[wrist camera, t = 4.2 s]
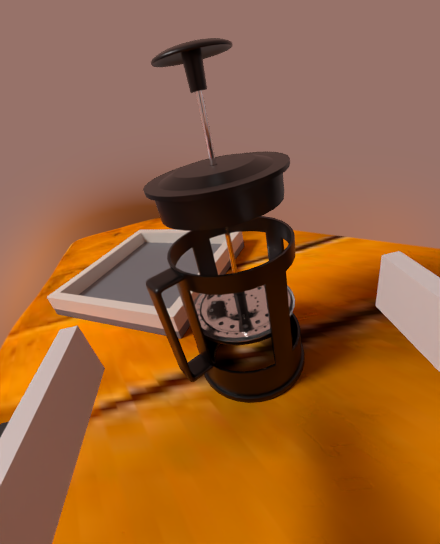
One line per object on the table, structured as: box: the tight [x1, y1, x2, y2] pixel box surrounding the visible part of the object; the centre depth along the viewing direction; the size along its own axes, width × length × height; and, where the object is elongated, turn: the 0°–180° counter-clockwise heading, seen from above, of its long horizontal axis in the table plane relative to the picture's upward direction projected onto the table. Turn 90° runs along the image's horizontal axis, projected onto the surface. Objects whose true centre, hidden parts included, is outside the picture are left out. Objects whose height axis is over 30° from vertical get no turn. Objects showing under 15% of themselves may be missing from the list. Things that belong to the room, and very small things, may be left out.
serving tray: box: [47, 230, 244, 338], centre depth 41 cm, size 20×20×3 cm
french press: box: [144, 38, 304, 403], centre depth 20 cm, size 12×9×23 cm
